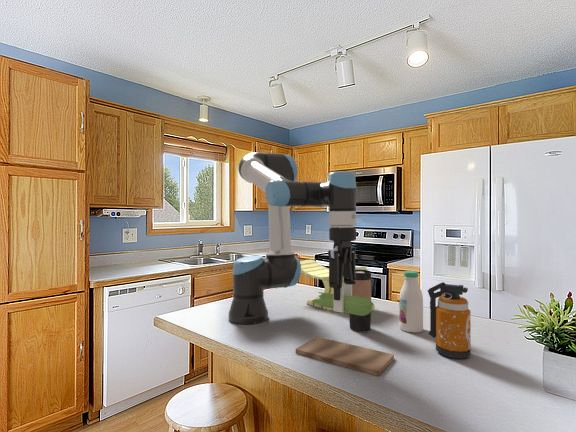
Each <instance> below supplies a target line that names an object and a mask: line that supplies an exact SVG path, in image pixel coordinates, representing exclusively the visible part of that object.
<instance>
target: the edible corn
mask: <svg viewBox="0 0 576 432" xmlns="http://www.w3.org/2000/svg"><path fill="white" fill-rule="evenodd" d="M318 294H319V295H318V297H320V298H321V299H314V298H312V299H313V300H312V302H314V303H316V304H318V305H319V306H324V307H329V308H332V310H334V305H333V294H329V293H324V292H320V291H318ZM375 307H376V306H375V304H374V303H373V301H372V300H371V301H370V300H368V299H367V298H364V297H359V296H348V295H344V312H343V313H348V314H349V313H350V314H355V315H360V316H364V315H367V314H369V313H371V314H372V311H374V310H375Z"/></svg>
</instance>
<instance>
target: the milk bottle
mask: <svg viewBox="0 0 576 432" xmlns="http://www.w3.org/2000/svg"><path fill="white" fill-rule="evenodd" d="M403 276H404V277H403V278H404V281H403V284H402V287H401V288H400V292H399V303H398V304H399V312H398V314H399V315H398V317H399V319H398V321H399V328H400V329H401V331H403V332H406V333H407V332H408V333H422V332H423V331H424V296H423V292H422V290H421V287H420V285H419V281H418V279H419V272H418V271H415V270H405V271H404V272H403Z"/></svg>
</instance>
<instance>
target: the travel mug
mask: <svg viewBox="0 0 576 432" xmlns="http://www.w3.org/2000/svg"><path fill="white" fill-rule="evenodd" d="M355 272H356V280H355V281H356V283H355V284H352V296H359V297H364V298H367V299H368V300H370V301H371V302H372V272H371V270H368V269H367V270H355ZM348 319H349V321H348V322H349V329H350V330H352V331H354V332H359V333H367V332H369V331H371V328H372V327H371V325H372V324H371V323H372V321H371V320H372V312H371V313H369V314H367V315H364V316H360V315H355V314H350V313H348Z"/></svg>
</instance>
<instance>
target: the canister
mask: <svg viewBox="0 0 576 432" xmlns="http://www.w3.org/2000/svg"><path fill="white" fill-rule="evenodd" d="M468 289H469V288H468V287H464V284H459V285H458V284H448V283H445V282H444V281H442V282H439V283H438V284H436V285H434V286H432V287H429V288H428V290H427V293H428V295H429V299H430V301H429V309H430V310H429V311H430V312H429V314H430V315H429V316H430V317H429V318H430V319H429V320H430V321H429V322H430V323H429V324H430V325H429V326H430V327H429V329H430V330H428V335H429V336H431V337H432V338H434V339H435V350H436V352H438V353H439V354H441V355H443V356H445V357H448V358H451V359H452V358H453V359H463V358H468V357H470V356H471V341H472V340H471V336H472V335H471V334H472V333H471V327H472V325H471V319H472V318H471V310H470V309H469V301H468V299H467V298H465V297H463V296H462V295H463V294H464V293H467V292H468ZM438 290H439V291H438ZM437 298H438V299H437ZM436 304H437V305H436Z"/></svg>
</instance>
